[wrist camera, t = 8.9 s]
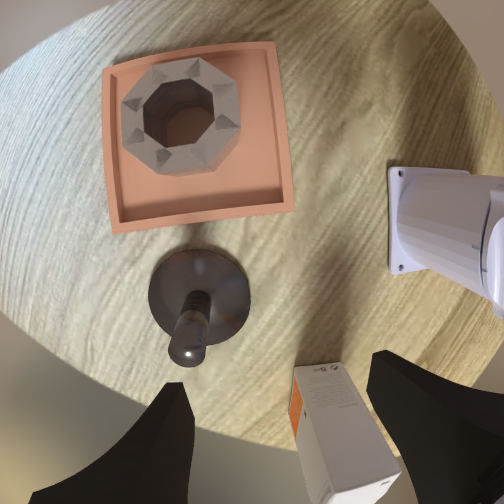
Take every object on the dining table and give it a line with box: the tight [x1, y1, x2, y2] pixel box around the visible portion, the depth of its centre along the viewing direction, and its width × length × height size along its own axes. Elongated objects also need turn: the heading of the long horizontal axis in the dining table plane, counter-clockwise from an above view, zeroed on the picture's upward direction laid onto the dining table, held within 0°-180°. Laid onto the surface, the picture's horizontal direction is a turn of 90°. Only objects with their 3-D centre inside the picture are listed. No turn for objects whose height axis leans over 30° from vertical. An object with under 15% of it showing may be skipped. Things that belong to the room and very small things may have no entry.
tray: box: [102, 41, 295, 234], centre depth 15 cm, size 11×11×2 cm
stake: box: [148, 249, 251, 367], centre depth 15 cm, size 7×7×6 cm
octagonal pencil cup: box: [121, 57, 241, 177], centre depth 13 cm, size 5×5×5 cm
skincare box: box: [288, 362, 402, 504], centre depth 16 cm, size 6×4×12 cm
